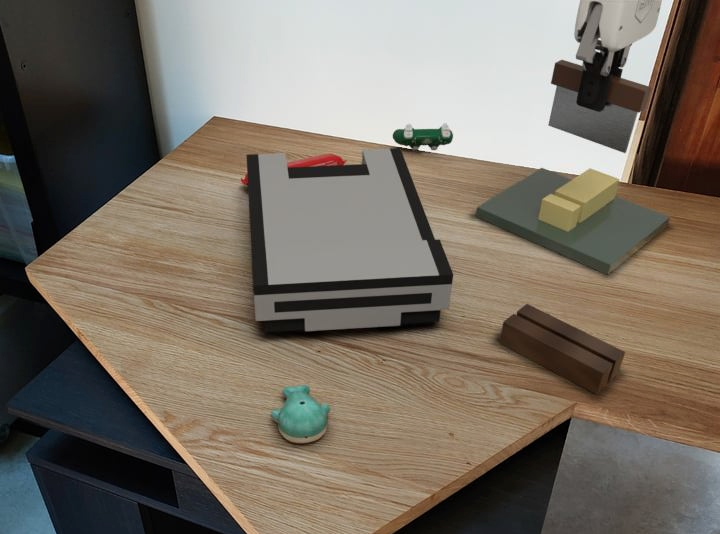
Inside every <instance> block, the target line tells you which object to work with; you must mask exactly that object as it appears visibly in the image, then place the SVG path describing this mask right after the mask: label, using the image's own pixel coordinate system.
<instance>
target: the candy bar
mask: <svg viewBox="0 0 720 534" xmlns="http://www.w3.org/2000/svg"><path fill="white" fill-rule="evenodd" d="M347 161H348V159H345V160H343V158H342V157H341V156H340V155H336V154H335V153H334V154H333V153H325V154H319V155H314V156H310V157H306V158H302V159H298V160H293V161H288V162H287V167H309V166H333V165H345V164H346V163H347ZM240 181H241V183H242V185H244V186H245V185H246V186H248V175H247V173H245V175H244V178H243V177H240Z"/></svg>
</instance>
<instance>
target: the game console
mask: <svg viewBox="0 0 720 534" xmlns="http://www.w3.org/2000/svg"><path fill="white" fill-rule="evenodd" d="M245 156H246V174H247V175H248V185H247V191H248V192H247V193H248V209H249V210H248V211H249V231H250V246H251V247H250V248H251V249H250V250H251V251H250V253H251V254H250V255H251V272H252V288H253V289H252V292H253V302H254V315H255V316H254V317H255V322H262V321H263V323H264V334H265V335H274V334H292V333H294V334H295V333H308V332H319V331H331V330H332V331H333V330H347V329H364V328H366V329H367V328H379V327H380V328H388V327H389V328H391V327H407V326H423V325H424V326H425V325H435V323H439V322H440V317H441V311H446V310H447V311H448V310H450V304H451V303H450V302H451V295H452V287H453V282H454V281H453V280H454V272H453V271H452V267H451V265H450V262H449V259H448V257H447V255H446V252H445V249H444V247H443V244H442V242H441V239H436V238H435V236H434V233H433V230H432V228H431V225H430V223H429V218H428V217H427V214H426V212H425V209H424V206H423V204H422V201H421V199H420V195H419V193H418V191H417V188H416V185H415V183H414V180H413V178H412V175H411V172H410V170H409V167H408V164H407V161H406V159H405V157H404V153H403V151H402V149H401V147H398V148H397V147H396V148H374V149H371V148H370V149H362V153H361V163H359V164H358V163H357V164H344V165H333V166H309V167H287V163H288V162H287V153H286V152H277V153H275V152H273V153H252V154H249V153H248V154H246V155H245Z"/></svg>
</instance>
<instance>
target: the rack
mask: <svg viewBox="0 0 720 534" xmlns="http://www.w3.org/2000/svg"><path fill="white" fill-rule="evenodd" d="M501 327H502V328H501V332H500V337H499V342H498V343H499V344H500V345H503V346H504V347H506V348H508V349H510V350H512V351H513V352H515V353H517V354H519V355H521V356H523V357H524V358H527V359H528V360H530V361H532V362H534V363H535V364H538V365H540V366H541V367H544V368H545V369H547V370H549V371H550V372H553V373H554V374H557V375H559V376H561V377H562V378H564V379H566V380H568V381H570V382H572V383H573V384H575V385H577V386H579V387H581V388H583V389H585V390H586V391H589V392H590V393H592V394H594V395H597V394H598V393H600V392H602V391H601V390H603V389H604V388H605V387H606V386H607V383H610V382H611V381H612V380H613V379H615V377H616V376H617V375H618V374H619V372H620V369H621V366H622V365H623V361H624V358H625V355H626V351H625V350H622V349H620V348H619V347H616V346H614V345H612V344H610V343H608V342H606V341H604V340H602V339H600V338H598V337H596V336H594V335H591V334H590V333H588V332H586V331H583V330H581V329H579V328H577V327H576V326H573V325H571V324H569V323H567V322H566V321H563V320H561V319H559V318H557V317H555V316H553V315H551V314H549V313H547V312H545V311H543V310H541V309H539V308H537V307H535V306H532V305H531V304H528V303H526V304H525V305H523V306H522V307H520V308H519V309H518V310H517V311H516V314H515V313H513V314H511V315H510V316H509V317H508V318H506V319H505V320H503V322H502V326H501Z"/></svg>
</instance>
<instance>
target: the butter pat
mask: <svg viewBox="0 0 720 534" xmlns="http://www.w3.org/2000/svg"><path fill="white" fill-rule="evenodd" d="M580 208H581V206H580V205H578V204H575V203H573V202H570V201H568V200H565V199H563V198H560V197H558V196H555V195H553V194H550V195H548V196H547V197H545V198H543V199H542V204H541V209H540V213H539V218H538V219H539V220H541V221H543V222H546V223H548V224H550V225H553V226H555V227H557V228H560V229H562V230H565V231H567V232H569V231H570V230H571V229H573V228H574V227H576V224H577V220H578V216H579V212H580Z"/></svg>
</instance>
